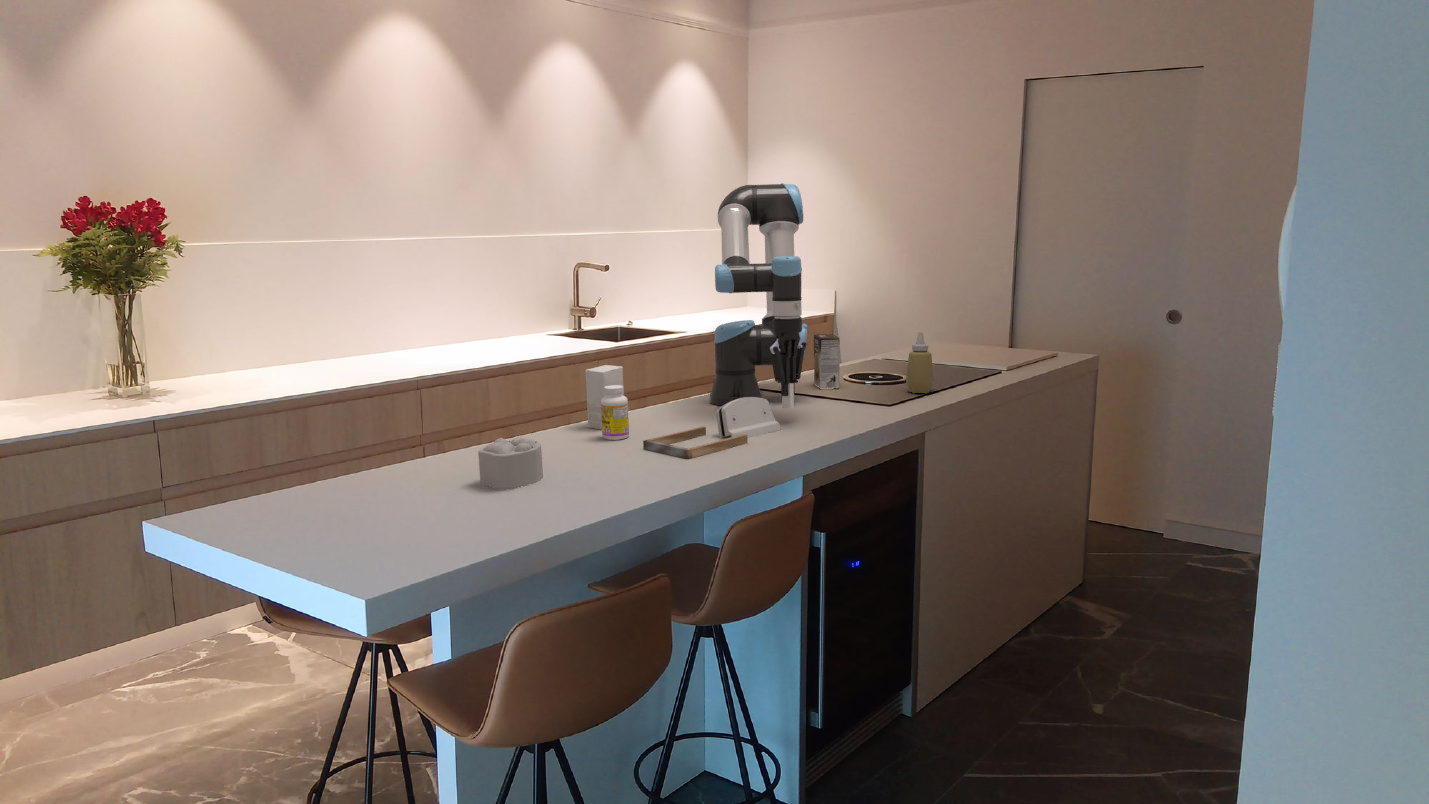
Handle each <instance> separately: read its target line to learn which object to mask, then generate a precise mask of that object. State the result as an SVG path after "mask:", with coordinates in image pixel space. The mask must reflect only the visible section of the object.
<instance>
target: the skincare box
mask: <svg viewBox="0 0 1429 804" xmlns="http://www.w3.org/2000/svg"><path fill="white" fill-rule="evenodd" d="M584 371H585V386H586V387H585V388H586V389H585V390H586V406H587V407H586V408H587V425H588V428H589V429H595V430H601V431H602V415H601V400H602V398H603V397H605V392H604V387H605V386H610V385H621V386H623V390H624V367H623V366H621V365H619V366H618V365H609V364H604V365H601V366H595V367H593V368H588V369H587V368H586V369H585V370H584ZM624 393H625V391H623V396H625V394H624Z"/></svg>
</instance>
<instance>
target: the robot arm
mask: <svg viewBox="0 0 1429 804" xmlns="http://www.w3.org/2000/svg"><path fill="white" fill-rule="evenodd" d="M803 207H804V206H803V200H802V196H801V191H800V189H799V187H798V186H797V185H796V184H792V183H779V184H778V183H777V184H774V183H772V184H771V183H769V184H768V183H767V184H744V185H741V186H739V187H737V188H734V189H732V191H731V192H729V193H728V194H727V195H726V196H725V197H724V198H723V200H722V201H721V203H720V205H719V207H718V210H717V223H718V225H719V227H720V230H721V264H717V265H715V267H714V286H715V288H714V289H715V291H716V292H717V293H720V294H721V293H723V294H725V293H727V294H739V293H740V294H741V293H765V294H766V295H765V296H766V314H765V315H764V316H763V317H762V318H761V324H760V325H758V324H757V325H756V322H755V321H754V320H753V319H748V320H746V319H745V320H738V321H736V320H735V321H731V322H727V323H726V322H725V323H722V324H720V325H717V327H715V330H714V341H713V344H714V360H715V361H714V362H715V363H714V367H715V368H714V370H715V372H714V373H715V376H714V380H713V384H712V389H711V392H710V394H709V402H710V403H711V404H712V405H716V406H720V407H722V406H723V405H725V404H727V403H728V402H731V401H733V400H736V399H740V398H745V397H759V398H763V394H762V391H761V390H760V386H759V383H758V380H757V376H756V367H757V366H772V371H773V376H774V381H775V383H776V382H777V383H778V384H780V390H781V391H780V393H781V397H782V399H781V401H782V403H781V404H782V406H781V407H782V409H789V410H791V409H794V408H795V394H796V391H795V389H796V387H795V386H796V384H797V383H799V380H800V379H801V376H802V368H803V363H804V358H805V354H806V350H807V349H806V347H807V340H808V339H807V338H808V324H806V323H803V318H802V314H803V313H802V271H803V268H802V259H801V257H800V256H798V255H797V256H796V255H795V234H796V233H797V232H798V231H799V226H800V225H801V224H803V223H804V210H803V209H804V208H803ZM749 226H758V230H759V232H760V233H761V234H762V235H763V236H764V259H765V260H764V261H765V263H751V261H750V247H749V246H750V244H749V242H750V241H749Z"/></svg>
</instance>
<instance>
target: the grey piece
mask: <svg viewBox="0 0 1429 804" xmlns="http://www.w3.org/2000/svg"><path fill="white" fill-rule="evenodd" d="M773 413H774V412H773V410H772V407H771V405H770V402H769V400H768V399H767V398H763V397H762V398H759V397H745V398H740V399H736V400H733V401H731V402H728V403H727V404H725V405H723V406H720V407H719V408H718V409H717V410H716V413H715V414H716V422H717V429H718V435H719V438H720V439H722V438H727V437H730V438H731V437H735V436H739V435H743V434H745V435H747V438H750V437H751V436H752V437H755V436H756V437H757V436H759V435H765V434H768V433H772V432H778V431H781V427H780V423H779V422H778V421H777V420H776V419H775V416H774V414H773Z"/></svg>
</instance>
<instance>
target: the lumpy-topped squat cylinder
mask: <svg viewBox="0 0 1429 804" xmlns="http://www.w3.org/2000/svg"><path fill="white" fill-rule="evenodd" d="M542 450H543V449H542V444H541V442H539V441H535V440H533V439H531V438H525V437H522V436H521V437H519V436H518V437H515V438H513V439H512V440H508V439H506V438H502V437H499V438H497V439H495V440H494V442H493V443H489V444H488V445H487V444H486V446H485V447H482V448H480V449H479V450H478V452H477V453H478V467H479V484H480V486H483V487H487V486H490V487H489V488H491V487H492V489H494V490H497V489H504V490H503V491H506V490H505V489H509V490H515V489H518V487H519V488H522V487H521V486H523V487H527V486H530V485H529V484H531V485H534V484H537V483H538V481H539V482H540V481H541V480H542V479H544V472H543V471H544V467H543V455H542V453H543V452H542ZM536 482H537V483H536Z"/></svg>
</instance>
